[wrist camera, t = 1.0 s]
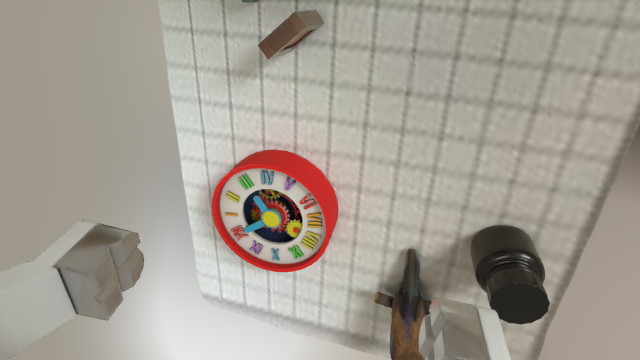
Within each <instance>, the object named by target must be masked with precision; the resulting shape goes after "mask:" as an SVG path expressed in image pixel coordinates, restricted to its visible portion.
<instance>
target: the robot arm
mask: <svg viewBox="0 0 640 360" xmlns="http://www.w3.org/2000/svg"><path fill="white" fill-rule="evenodd" d="M139 243H140V239H139V236H138V233H135V232H132V231H128V230H124V229H120V228H116V227H112V226H108V225H104V224H99V223H95V222H90V221H86V220H81V221H79V222H76V223H75V224H74V225H73V226H72V227H70V228H69V229H68V230H67V231H66V232H65V233H64V234H63V235H62V236H60V238H58V239H57V240H56V241H55V242H54V243H53V244H52V245H50V246H49V247H48V249H46V250H45V251H44V252H43V253H42V254H40V255H39V256H38V257H37V258H36V259H35V260H34V261H33V262H28V261H26V262H23V263H21V264H18V265H15V266H13V267H11V268H8V269H6V270H3V271H1V272H0V360H8V359H10V358H11V357H13V356H14V355H16V354H18V353H19V352H21V351H22V350H24V349H25V348H27V347H29V346H30V345H32V344H34V343H35V342H37V341H38V340H40V339H41V338H43V337H44V336H46V335H48V334H49V333H51V332H53V331H54V330H56V329H57V328H59V327H60V326H62V325H64V324H65V323H67V322H68V321H70V320H72V319H73V318H75V317H76V316H77V315H76V314H78V315H83V316H88V317H93V318H98V319H102V320H109V318H110V317H111V315H112V314H113V313H114V312H115V310H116V309H117V308H118V306H119V305H120V304H121V302H122V301H123V291H125V290H127V289H129V288H131V287H133V286H134V285H135V283H136V282H137V280H138V279H139V277H140V275H141V272H142V270H143V266H144V257H143V253H142V252H141V251H140V250H139V249H138V248H137V245H138V244H139ZM419 352H420V354H421V355H422V357H423V358H424V360H511V358H510V355H509V351H508V348H507V344H506V341H505V337H504V334H503V330H502V327H501V323H500V320H499V316H498V314H497V312H496V311H495V310H492V309H487V308H483V307H478V306H473V305H470V304H465V303H460V302H456V301H451V300H446V299H441V298H434V299H433V300H432V302H431V304H430V314H428V315H426V316H424V319H423V321H422V323H421V327H420V332H419Z"/></svg>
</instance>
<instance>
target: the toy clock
mask: <svg viewBox="0 0 640 360" xmlns="http://www.w3.org/2000/svg"><path fill="white" fill-rule="evenodd" d="M212 213H213V218H214V222H215V225H216V227H217V230H218V232H219V234H220V235H221V237H222V238H223V240H224V241H225V243H226V244H227V245H228V246H229V247H230V248H231V250H233V251H234V252H235V253H236V254H237V255H238V256H240V257H241V258H242V259H244V260H245V261H247V262H249V263H251V264H253V265H255V266H257V267H260V268H262V269H265V270H270V271H275V272H292V271H297V270H301V269H304V268H306V267H308V266H310V265H312V264H313V263H314V262H316V261H317V260H318V259H319V258H320V257H321V256H322V254H323V253H324V251H325V249H326V247H327V245H328V243H329V240H330V238H331V235H332V233H333V230H334V228H335V225H336V222H337V218H338V203H337V198H336V195H335V192H334V189H333V187H332V185H331V183H330V182H329V180H328V179H327V177H326V176H325V175H324V174H323V172H322V171H321V170H320V169H318V168H317V167H316V166H315V165H314V164H313V163H311V162H310V161H308V160H307V159H305V158H303V157H301V156H299V155H297V154H294V153H291V152H287V151H281V150H265V151H260V152H256V153H254V154H252V155H250V156H248V157H246V158H245V159H244V160H242V161H241V162H240V163H239V164H238V165H236V166H235V167H234V168H233V169H232V170H231V171H230V172H229V173H228V174H226V175H225V176H224V178H223V179H222V180H221V181H220V182H219V184H218V185H217V187H216V189H215V192H214V195H213V199H212Z"/></svg>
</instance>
